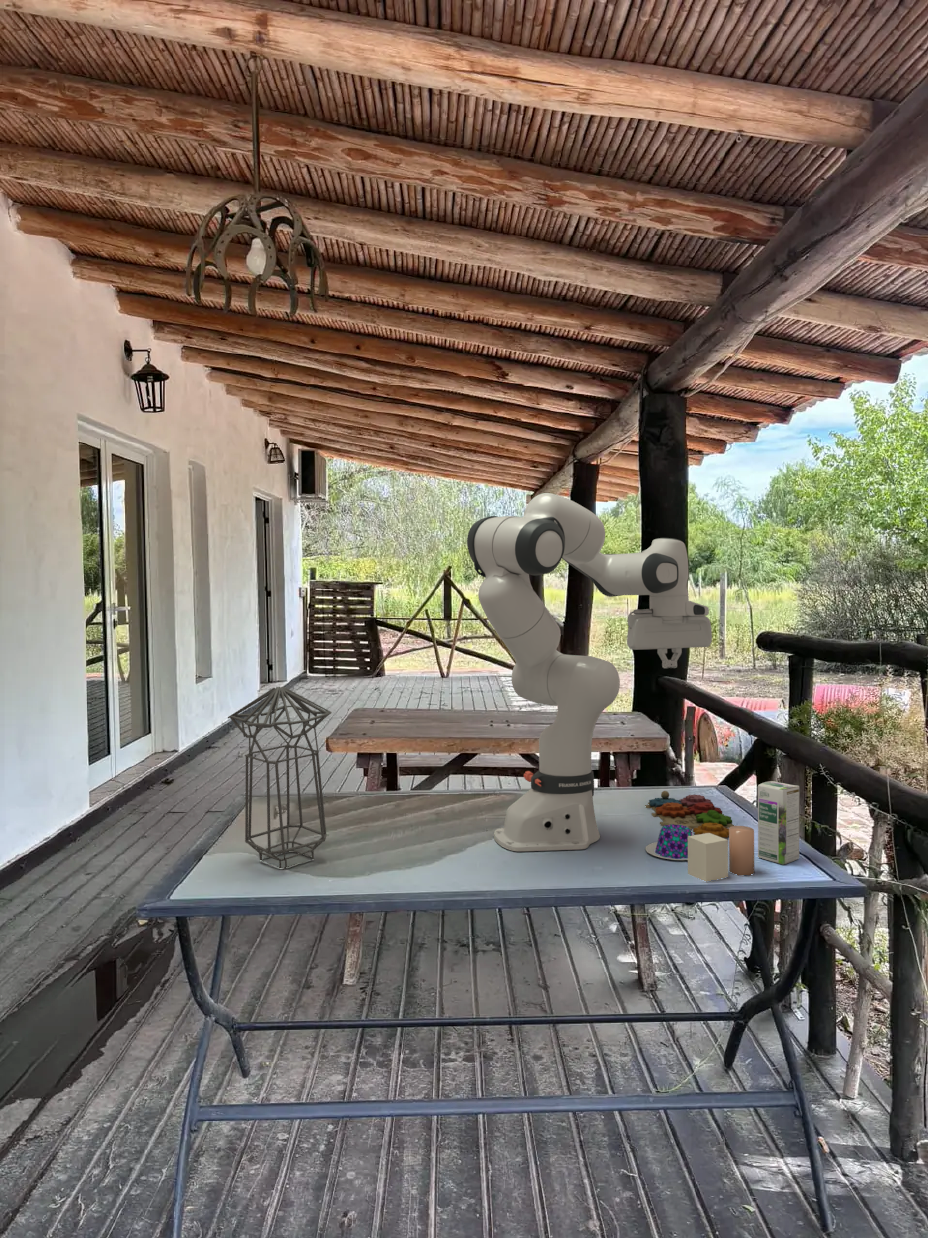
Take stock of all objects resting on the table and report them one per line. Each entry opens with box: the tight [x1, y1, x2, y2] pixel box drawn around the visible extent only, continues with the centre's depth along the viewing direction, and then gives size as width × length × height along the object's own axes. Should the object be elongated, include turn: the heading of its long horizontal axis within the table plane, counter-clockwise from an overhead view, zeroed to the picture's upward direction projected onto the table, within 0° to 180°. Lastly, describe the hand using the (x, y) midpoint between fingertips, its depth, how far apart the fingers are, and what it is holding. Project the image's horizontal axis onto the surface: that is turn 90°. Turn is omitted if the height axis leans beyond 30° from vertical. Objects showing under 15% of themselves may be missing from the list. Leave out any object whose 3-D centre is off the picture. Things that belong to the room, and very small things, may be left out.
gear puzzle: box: [644, 790, 735, 839], centre depth 187 cm, size 31×16×4 cm, turn 0°
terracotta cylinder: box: [728, 825, 755, 876], centre depth 153 cm, size 4×4×8 cm
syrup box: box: [757, 780, 800, 866], centre depth 160 cm, size 6×6×14 cm
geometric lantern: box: [227, 686, 332, 868], centre depth 163 cm, size 16×16×35 cm
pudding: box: [645, 824, 693, 861], centre depth 165 cm, size 12×12×5 cm
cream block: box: [687, 833, 729, 883], centre depth 151 cm, size 5×5×7 cm
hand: (669, 667), depth 192 cm, fingers closed
